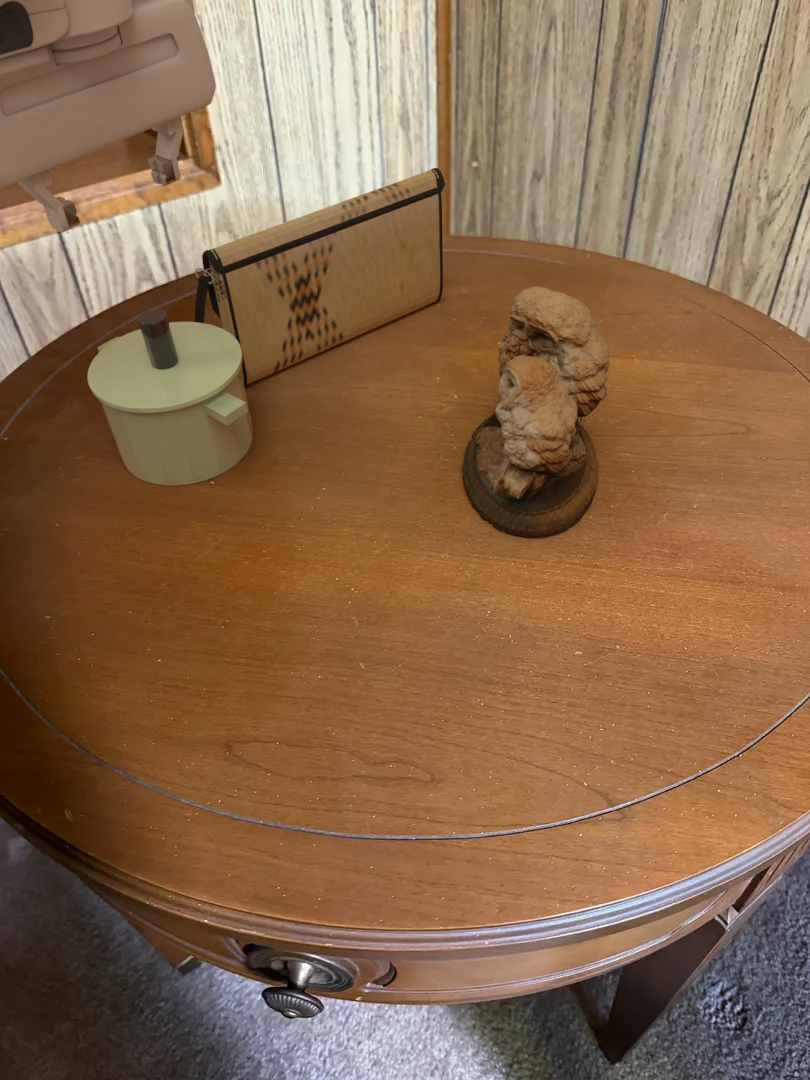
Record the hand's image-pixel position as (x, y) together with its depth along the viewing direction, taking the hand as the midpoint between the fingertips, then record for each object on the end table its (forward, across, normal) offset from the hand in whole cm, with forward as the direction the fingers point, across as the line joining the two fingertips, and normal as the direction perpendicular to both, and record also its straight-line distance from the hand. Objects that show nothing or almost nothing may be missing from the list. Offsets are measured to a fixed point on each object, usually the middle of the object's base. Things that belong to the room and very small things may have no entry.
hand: (118, 203), depth 64 cm
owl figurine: (+23, -16, +28) cm, 40 cm away
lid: (+15, 0, 0) cm, 15 cm away
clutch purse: (+23, -22, -2) cm, 32 cm away
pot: (+23, 0, 0) cm, 23 cm away
